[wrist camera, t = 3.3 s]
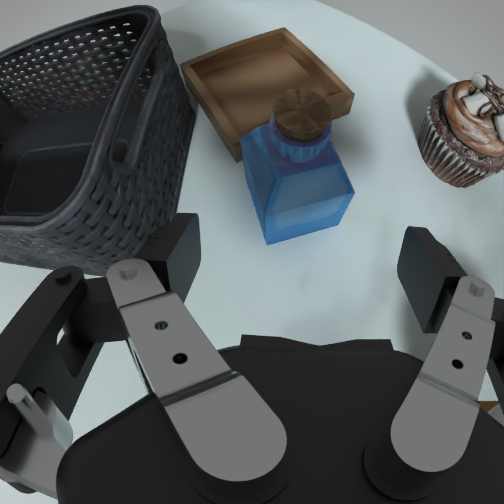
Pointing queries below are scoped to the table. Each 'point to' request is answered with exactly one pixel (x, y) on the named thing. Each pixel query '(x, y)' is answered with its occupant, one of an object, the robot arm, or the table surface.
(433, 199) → the table surface
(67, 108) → the storage bin
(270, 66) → the tray
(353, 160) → the table surface
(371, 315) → the table surface
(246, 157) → the perfume bottle
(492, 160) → the cupcake
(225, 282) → the table surface
